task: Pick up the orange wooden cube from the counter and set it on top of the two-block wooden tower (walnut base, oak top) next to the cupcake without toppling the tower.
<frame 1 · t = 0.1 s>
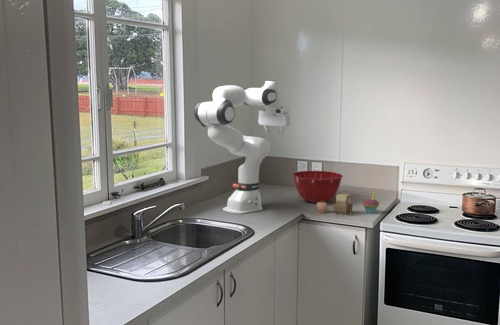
hand: (274, 133, 293), 39 cm above the table, tool pointing down, fingers open, 8 cm apart
cupcake: (370, 212, 272), on the table
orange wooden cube: (321, 212, 272), on the table
tower base: (343, 213, 270), on the table
tower top: (343, 204, 269), point 5 cm above the table
mixing bowl: (316, 200, 298), on the table
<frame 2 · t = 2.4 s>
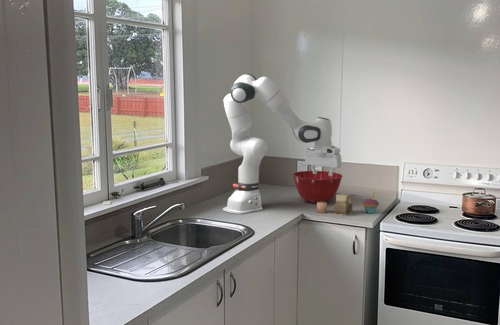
hand: (322, 174, 269), 20 cm above the table, tool pointing down, fingers open, 8 cm apart
tower base: (342, 213, 270), on the table, touching tower top
tower top: (343, 204, 269), point 5 cm above the table, touching tower base
everything else where it was.
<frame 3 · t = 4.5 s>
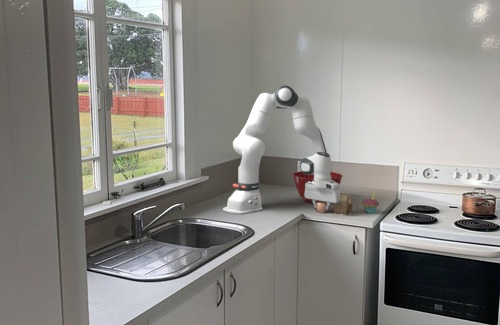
hand: (321, 208, 272), 2 cm above the table, tool pointing down, fingers closed on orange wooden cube, 5 cm apart
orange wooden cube: (321, 211, 272), on the table, touching gripper
everything else where it was.
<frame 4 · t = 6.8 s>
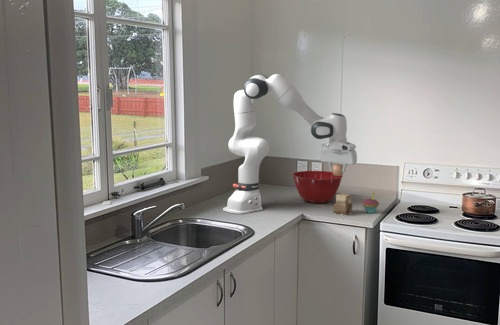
hand: (337, 171, 266), 22 cm above the table, tool pointing down, fingers closed on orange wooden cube, 5 cm apart
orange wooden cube: (337, 174, 267), point 20 cm above the table, touching gripper
everything else where it was.
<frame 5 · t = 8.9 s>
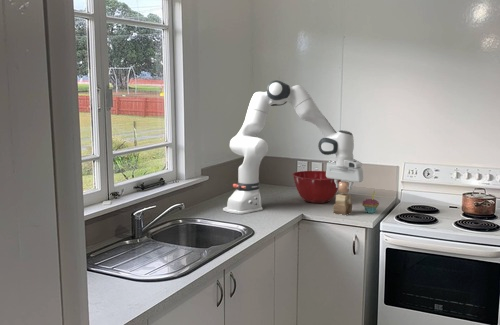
hand: (343, 188, 268), 13 cm above the table, tool pointing down, fingers closed on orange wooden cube, 5 cm apart
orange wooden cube: (343, 191, 268), point 11 cm above the table, touching gripper
everything else where it was.
when the fingers open (13 cm above the table, at t = 9.0 s): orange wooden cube drops 2 cm, resting on tower top.
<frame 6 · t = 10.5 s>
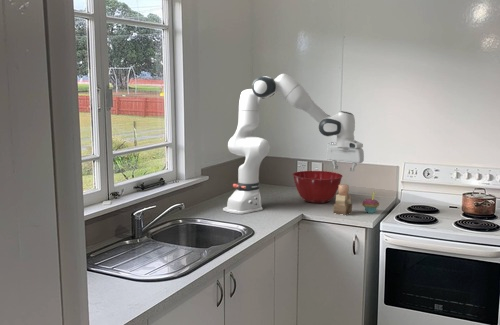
hand: (344, 170, 265), 23 cm above the table, tool pointing down, fingers open, 8 cm apart
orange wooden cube: (343, 194, 268), point 10 cm above the table, touching tower top
tower top: (343, 204, 269), point 5 cm above the table, touching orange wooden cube, tower base
everything else where it was.
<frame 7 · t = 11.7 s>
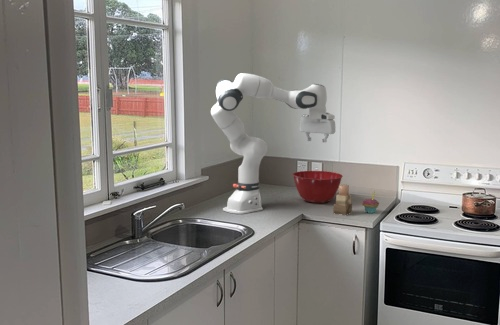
hand: (316, 141, 272), 37 cm above the table, tool pointing down, fingers open, 8 cm apart
nothing on the table moved.
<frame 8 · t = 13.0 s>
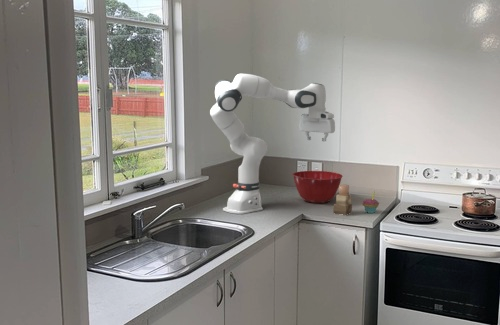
hand: (316, 140, 272), 37 cm above the table, tool pointing down, fingers open, 8 cm apart
nothing on the table moved.
at the end: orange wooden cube 0.2 cm off-centre on the tower top, point 5.0 cm above the tower top's base; tower top tilted 0°; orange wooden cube tilted 0° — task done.
